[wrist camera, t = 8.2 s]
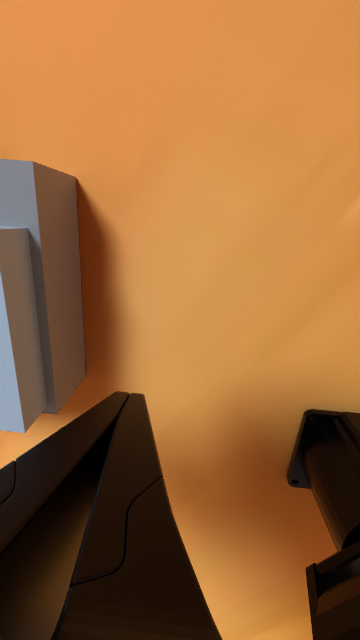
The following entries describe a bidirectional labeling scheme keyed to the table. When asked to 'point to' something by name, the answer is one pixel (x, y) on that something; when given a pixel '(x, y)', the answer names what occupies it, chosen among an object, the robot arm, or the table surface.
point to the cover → (19, 335)
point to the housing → (50, 267)
